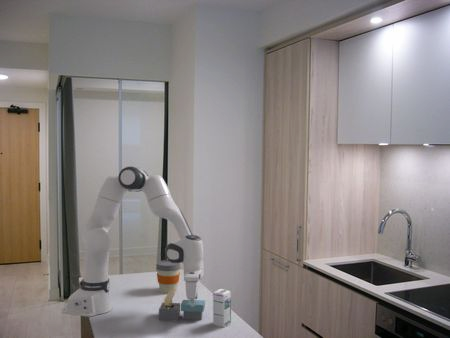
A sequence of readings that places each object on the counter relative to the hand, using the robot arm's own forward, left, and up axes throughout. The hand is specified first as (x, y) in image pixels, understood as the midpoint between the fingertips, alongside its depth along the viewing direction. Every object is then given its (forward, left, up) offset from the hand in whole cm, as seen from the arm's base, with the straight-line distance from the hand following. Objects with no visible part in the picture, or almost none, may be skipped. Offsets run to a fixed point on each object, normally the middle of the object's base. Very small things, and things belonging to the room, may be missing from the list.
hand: (194, 302), depth 204 cm
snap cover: (0, -1, -3) cm, 3 cm away
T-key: (-11, -1, -7) cm, 13 cm away
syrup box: (+13, -7, -7) cm, 16 cm away
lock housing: (-6, -1, -7) cm, 9 cm away
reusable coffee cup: (-19, +35, -7) cm, 41 cm away
